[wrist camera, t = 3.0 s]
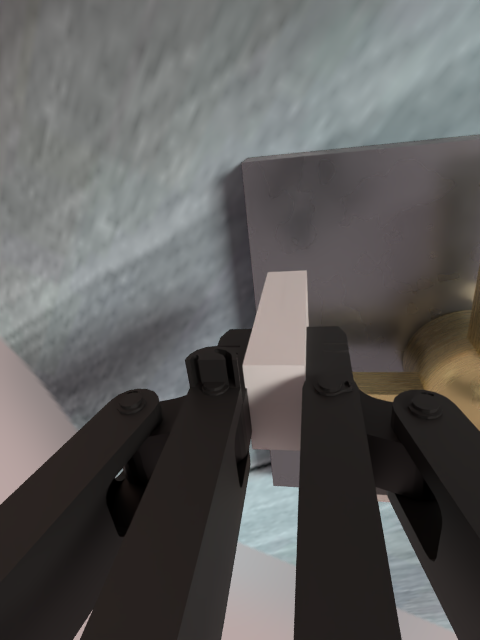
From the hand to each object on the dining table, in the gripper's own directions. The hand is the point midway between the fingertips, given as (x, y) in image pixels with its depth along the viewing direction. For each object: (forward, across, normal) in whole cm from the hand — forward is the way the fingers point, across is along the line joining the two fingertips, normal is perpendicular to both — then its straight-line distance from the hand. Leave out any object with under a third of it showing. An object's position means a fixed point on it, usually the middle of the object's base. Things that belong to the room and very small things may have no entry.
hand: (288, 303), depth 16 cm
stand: (+8, +9, -6) cm, 13 cm away
